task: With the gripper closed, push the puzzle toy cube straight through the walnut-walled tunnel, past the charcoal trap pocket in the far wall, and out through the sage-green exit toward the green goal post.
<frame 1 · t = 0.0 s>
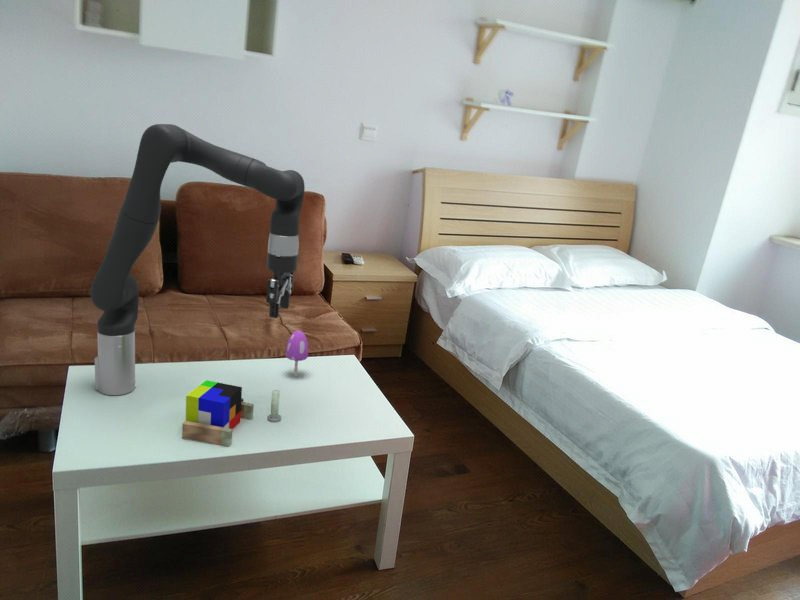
hand: (279, 312, 161), 29 cm above the table, fingers open, 8 cm apart
toy: (295, 376, 195), on the table
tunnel: (219, 427, 159), on the table
puzzle toy: (213, 427, 159), on the table
goal post: (274, 419, 167), on the table
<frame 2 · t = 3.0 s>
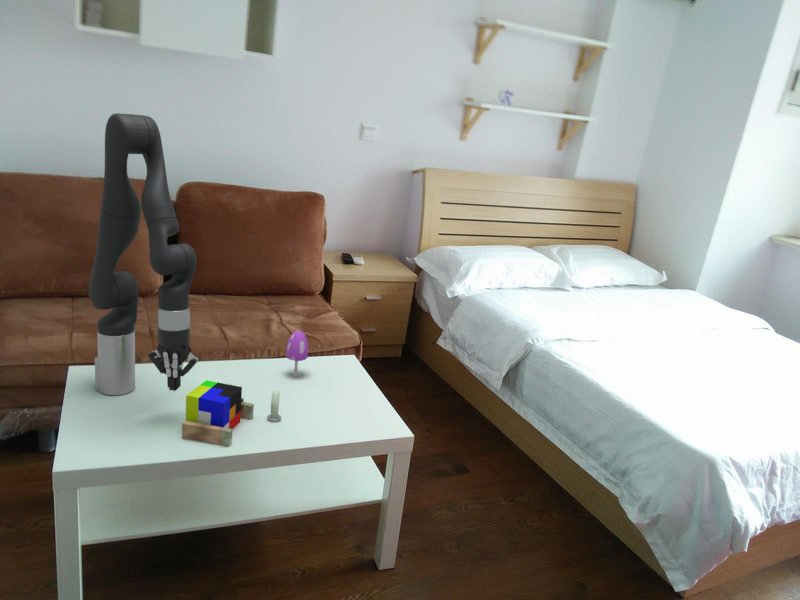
hand: (174, 389, 158), 9 cm above the table, fingers closed
nothing on the table moved.
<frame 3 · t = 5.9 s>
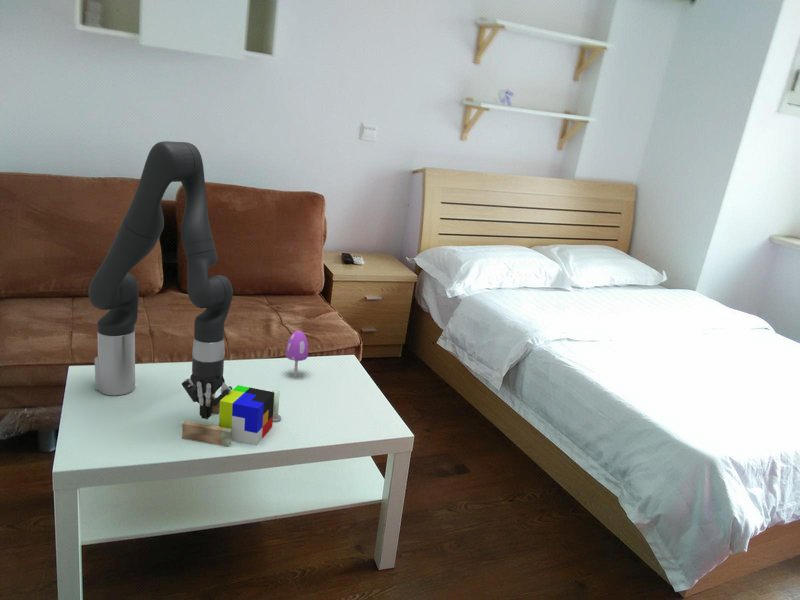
hand: (205, 417, 159), 2 cm above the table, fingers closed
puzzle toy: (246, 432, 158), on the table, touching hand
everything else where it was.
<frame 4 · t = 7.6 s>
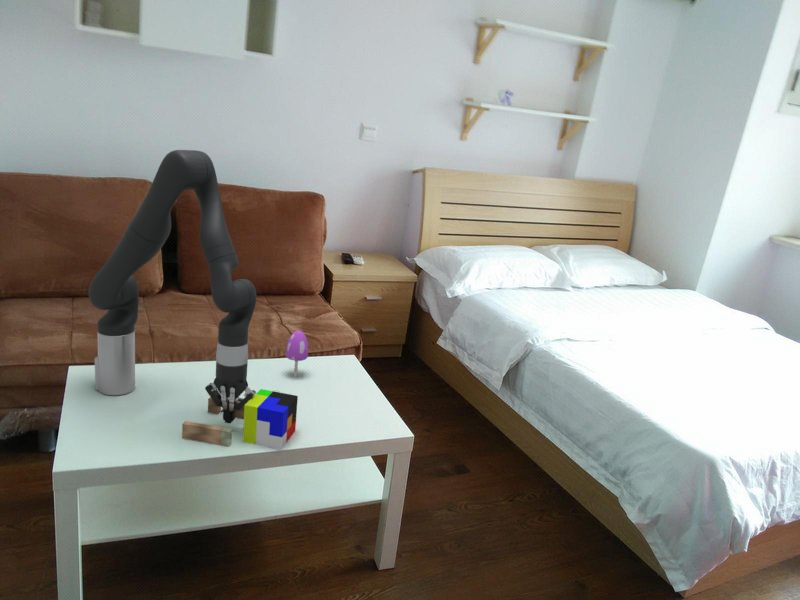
hand: (229, 421, 158), 2 cm above the table, fingers closed
puzzle toy: (269, 436, 158), on the table, touching hand
everything else where it was.
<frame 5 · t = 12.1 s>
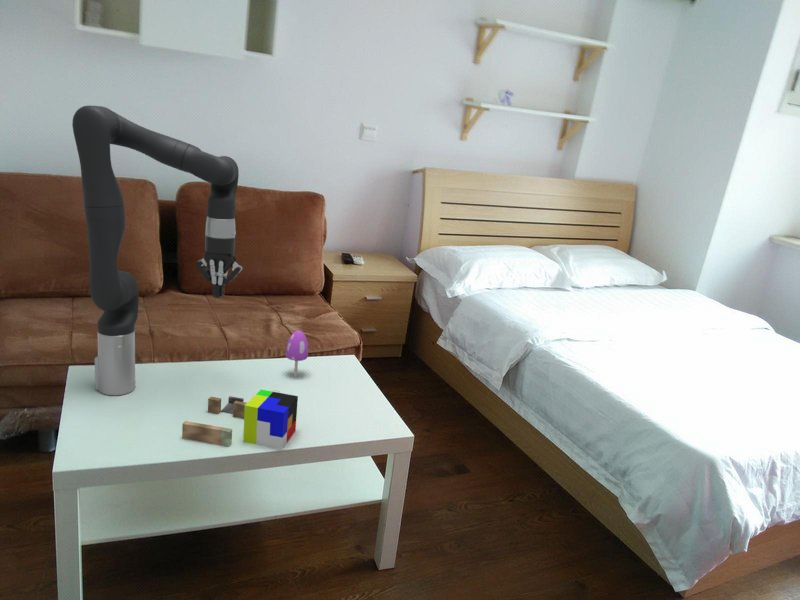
hand: (218, 297, 168), 29 cm above the table, fingers closed
puzzle toy: (269, 437, 158), on the table
everything else where it was.
at the end: puzzle toy inside the target area (0.8 cm from its centre), on the table; puzzle toy moved 15.0 cm from its start; puzzle toy tilted 0° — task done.
